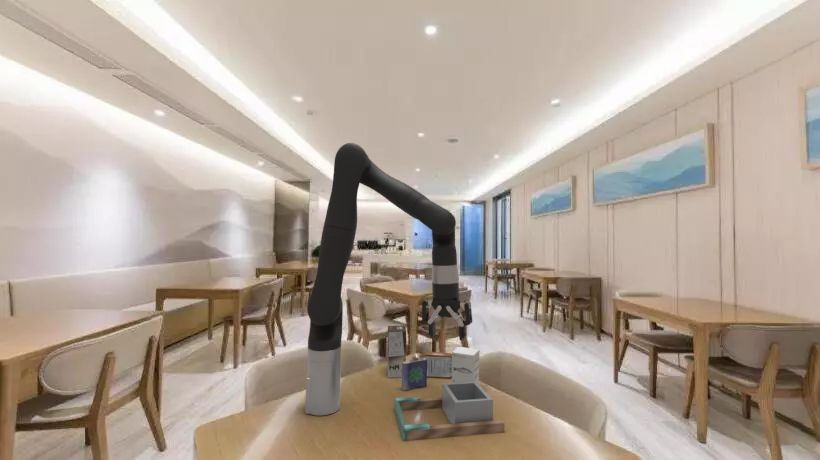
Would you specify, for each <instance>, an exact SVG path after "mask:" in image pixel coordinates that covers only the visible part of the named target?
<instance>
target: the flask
mask: <svg viewBox="0 0 820 460" xmlns="http://www.w3.org/2000/svg"><path fill="white" fill-rule="evenodd" d="M410 356H412V357H411V359H408V360H406V361H404V362H402V377H401V390H402V391H403V392H407V391H411V390H414V389H423V388H427V387H428V385H427V383H428V382H427V380H428V377H427V359H426V358H422V357H420V358H418V357H417V355H416V354H415V353H412V354H411V355H410Z"/></svg>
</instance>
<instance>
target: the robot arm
mask: <svg viewBox="0 0 820 460" xmlns="http://www.w3.org/2000/svg"><path fill="white" fill-rule="evenodd" d="M333 162H334V164H333V176H332V185H331V186H332V187H331V192H330V196H329V199H328V205H327V209H326V215H325V218H324V223H323V227H322V232H321V237H320V245H319V252H318V261H317V270H316V276H315V278H314V279H315V280H314V283H313V286H312V290H311V293H310V296H309V299H308V301H307V304H306V305H307V306H306V311H307V315H308V318H309V332H308V338H307V374H306V378H305V414H306V415H312V416H328V415H331V414H334V413H336V412H338V411H339V410H340V408H341V381H342V380H341V377H342V375H341V373H342V372H341V371H342V370H341V369H342V337H343V336H342V335H343V316H344V315H343V310H344V309H343V305H344V304H343V299H342V291H343V290H342V288H343V280H344V276H345V273H346V269H347V266H348V264H349V261H350V258H351V255H352V250H353V247H354V244H355V238H356V234H357V227H358V193H359V192H358V191H359V187H360V184H361V185H363V186H366V187H367V188H370V189H371V190H373V191H375V192H376V193H378V194H379V195H381V196H382V197H383V198H385V200H388V201H389V202H390V203H391V204H392V205H394V206H395V207H397V208H398V209H400V210H402V212H404V213H405V214H407V215H409V216H410V217H411V218H414V219H416V220H417V221H419V222H420V223H422V225H424V226H426V227H427V228H428V229H429V230H431V238H432V249H431V262H432V263H431V265H432V266H431V268H432V269H431V286H432V287H431V289H432V300H429V299H425V300H423V301H422V303H421V305H422V307H421V308H422V310H421V321H422V322H425V323H427V324H428V334H429V336H430V338H435V337H436V334H437V333H436V332H437V331H436V323H435V321H436V320H437V319H438V317H440V318H450V319H451V318H453V319H454V321H455V322H456V323H457V324H458V325H459V326H458V332H459V335H458V336H459V341H463V340H464V339H465V338H466V337H467V326H470V325H471V324H472V323H473V314H472V313H473V312H472V304H471V302H470V301H466V302H462V301H461V300H460V287H459V285H460V284H459V282H460V281H459V280H460V277H459V269H458V257H457V256H458V254H457V253H458V252H457V247H456V224H457V222H456V217H455V216H454V214H453V213H452V212H451V211H449V210H448V209H446V208H444V207H442V206H441V205H439V204H437V203H436V202H435V201H434V202H433V201H432V200H431V199H429V198H428V197H426V195H424V194H423V193H421V192H420V191H418V190H417V189H415V188H413V187H412V186H410V185H409V184H407V183H405V182H403V181H401V180H399V179H397V178H395V177H392V176H391V175H389V174H388V173H386V172H385V171H384V170H382V169H381V168H380V167H379V166H377V164H375V163H374V162H373V161H372V160H371V159H370V157H369V155H368V154H367V152H366V151H365V149H364V148H363V147H361V146H360V145H359V144H357V143H355V142H348V143H345V144H343V145H341V146H339V149H338V150H337V151H336V153H335V157H334V161H333ZM431 307H432V308H433V310H434V311H433V313H432V314H431V316H430V308H431ZM460 308H462V311H464V315H465V317H464V316H463V314H462V313H461V312H460Z"/></svg>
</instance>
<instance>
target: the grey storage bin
mask: <svg viewBox="0 0 820 460" xmlns="http://www.w3.org/2000/svg"><path fill="white" fill-rule="evenodd" d="M441 384H442V386H441V387H442V390H441V391H442V394H441V395H442V396H441V397H442V411H443V412H444V414H445V416H446V418H447V420H448V422H449V423H450V424H457V423H470V422H482V421H494V400H493V398H492V397H491V395H489V394H488V393H487V392H486V391H485V390H484V388H483V387H482V386H481V385H480V383H479V384H478V383H477V382H460V383H452V382H447V383H446V382H445V383H444V382H443V383H441Z"/></svg>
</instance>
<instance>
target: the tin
mask: <svg viewBox="0 0 820 460" xmlns="http://www.w3.org/2000/svg"><path fill="white" fill-rule="evenodd" d="M420 357H422V358H426V359H427V378H431V379H432V378H434V379H452V353H451V352H440V351H439V352H438V351H424V352H423V353H421V354H420V355H418V357H417V358H420Z"/></svg>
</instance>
